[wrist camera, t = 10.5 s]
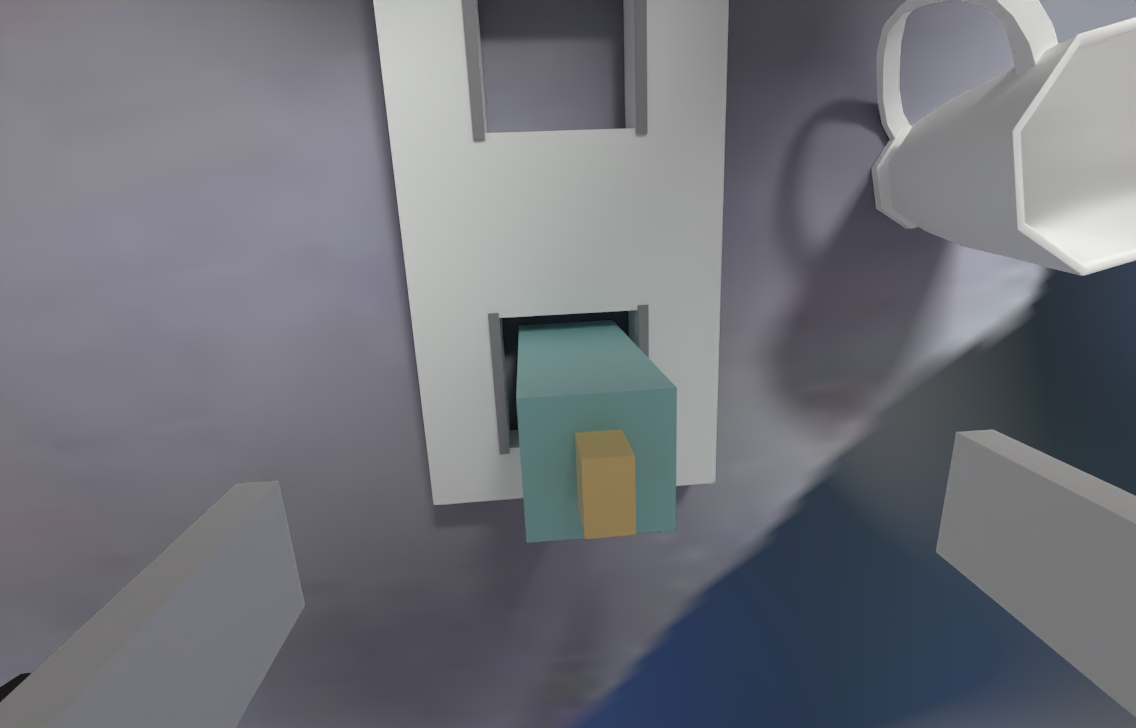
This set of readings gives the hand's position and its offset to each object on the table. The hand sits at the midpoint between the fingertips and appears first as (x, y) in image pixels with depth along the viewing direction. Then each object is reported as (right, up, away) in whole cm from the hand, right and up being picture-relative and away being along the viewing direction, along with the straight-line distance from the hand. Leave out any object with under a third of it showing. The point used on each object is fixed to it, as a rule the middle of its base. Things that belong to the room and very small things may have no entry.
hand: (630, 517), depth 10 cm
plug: (-1, +3, +13) cm, 13 cm away
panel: (-1, +9, +11) cm, 14 cm away
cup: (+13, +12, +12) cm, 21 cm away
